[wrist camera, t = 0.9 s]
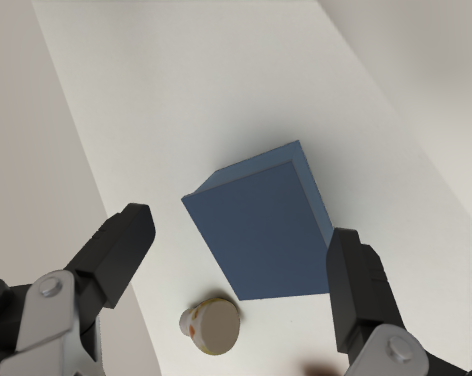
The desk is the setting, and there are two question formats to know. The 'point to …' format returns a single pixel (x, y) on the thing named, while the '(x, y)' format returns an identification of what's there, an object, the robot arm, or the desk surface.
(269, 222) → the container
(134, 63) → the desk surface
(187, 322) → the patterned salt shaker
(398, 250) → the desk surface
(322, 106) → the desk surface
